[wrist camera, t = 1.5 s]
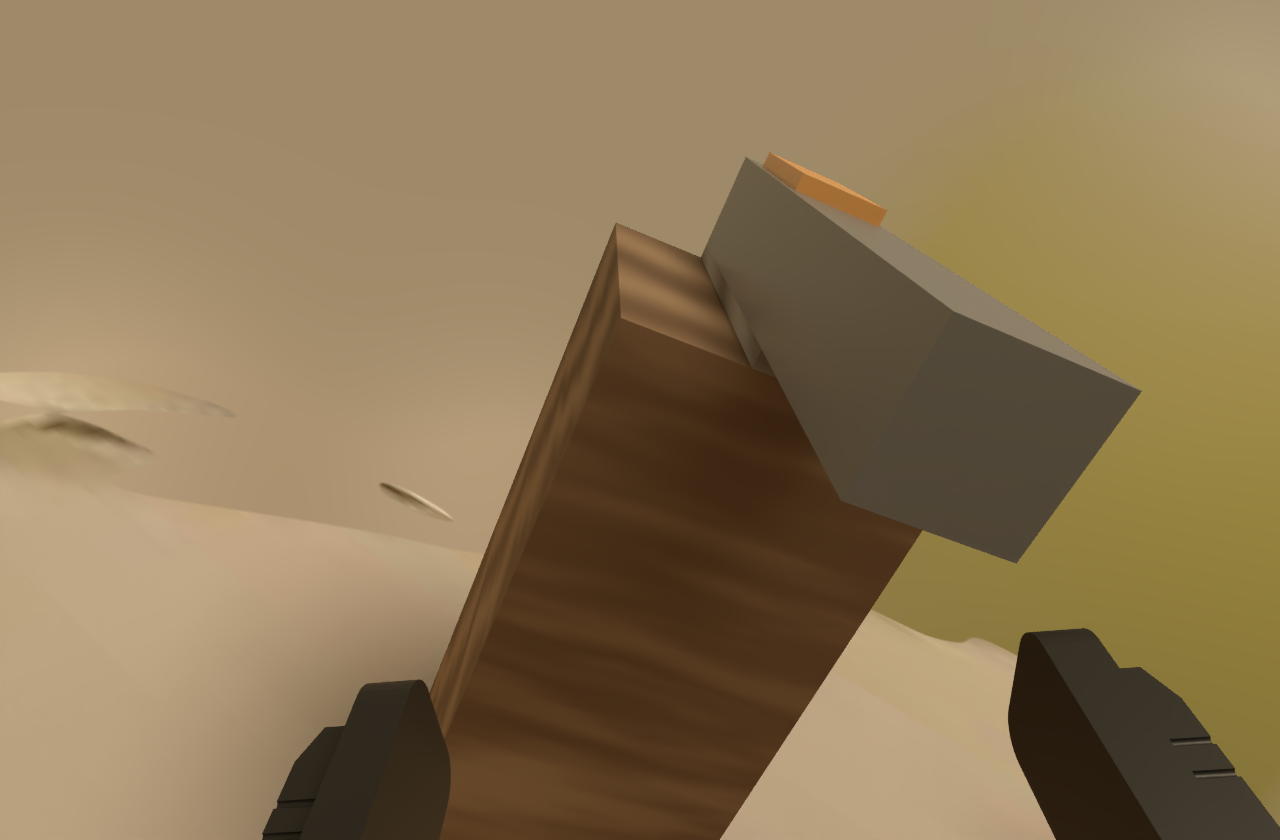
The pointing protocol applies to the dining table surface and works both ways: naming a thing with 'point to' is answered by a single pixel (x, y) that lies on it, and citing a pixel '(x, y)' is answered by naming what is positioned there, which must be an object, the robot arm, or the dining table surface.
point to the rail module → (909, 365)
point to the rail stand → (652, 577)
